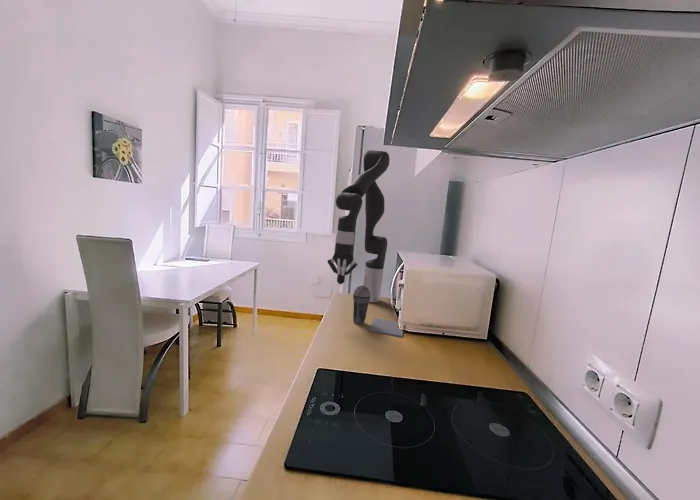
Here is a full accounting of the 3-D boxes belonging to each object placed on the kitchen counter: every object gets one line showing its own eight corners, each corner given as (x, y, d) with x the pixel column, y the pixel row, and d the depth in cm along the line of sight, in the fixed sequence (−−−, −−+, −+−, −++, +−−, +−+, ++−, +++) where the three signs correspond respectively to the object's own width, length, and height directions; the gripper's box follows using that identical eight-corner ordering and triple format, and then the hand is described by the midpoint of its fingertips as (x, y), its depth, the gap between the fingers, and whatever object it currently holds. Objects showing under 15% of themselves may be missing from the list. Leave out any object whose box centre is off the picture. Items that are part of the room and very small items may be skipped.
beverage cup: (347, 320, 153) (352, 273, 150) (362, 319, 156) (367, 273, 154) (354, 326, 147) (360, 277, 144) (370, 325, 150) (376, 277, 147)
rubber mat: (374, 319, 158) (375, 318, 158) (405, 324, 155) (405, 323, 155) (368, 331, 142) (368, 329, 142) (401, 337, 140) (402, 335, 140)
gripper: (362, 243, 151) (357, 284, 154) (331, 239, 154) (327, 279, 156) (358, 245, 144) (354, 288, 146) (326, 240, 147) (322, 283, 149)
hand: (340, 283), depth 151 cm, fingers closed
